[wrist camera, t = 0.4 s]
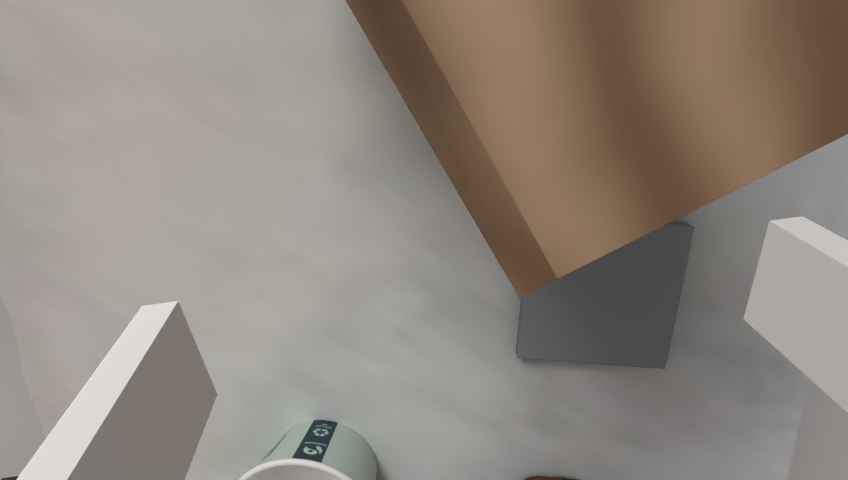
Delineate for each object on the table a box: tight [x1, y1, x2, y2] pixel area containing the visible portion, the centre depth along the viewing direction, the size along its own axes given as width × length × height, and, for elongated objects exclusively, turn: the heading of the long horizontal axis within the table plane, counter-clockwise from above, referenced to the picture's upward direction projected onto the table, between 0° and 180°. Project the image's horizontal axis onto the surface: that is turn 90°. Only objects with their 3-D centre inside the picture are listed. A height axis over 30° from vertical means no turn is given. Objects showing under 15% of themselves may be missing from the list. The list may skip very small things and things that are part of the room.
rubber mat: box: [516, 223, 694, 369], centre depth 35 cm, size 11×11×1 cm
